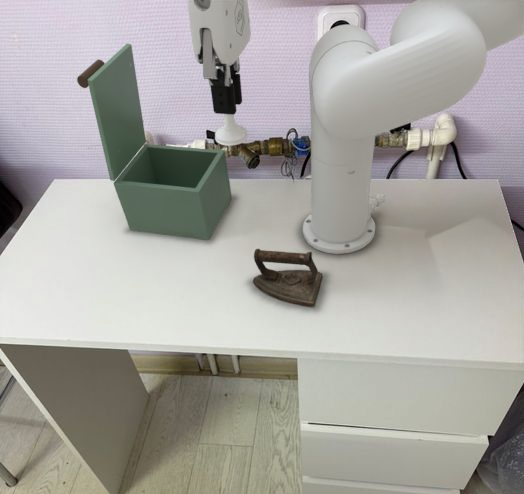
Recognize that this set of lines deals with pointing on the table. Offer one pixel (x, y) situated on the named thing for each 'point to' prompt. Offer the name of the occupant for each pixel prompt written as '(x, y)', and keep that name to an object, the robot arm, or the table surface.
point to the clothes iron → (288, 277)
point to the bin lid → (116, 108)
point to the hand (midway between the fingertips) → (228, 107)
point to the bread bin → (175, 190)
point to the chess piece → (230, 131)
